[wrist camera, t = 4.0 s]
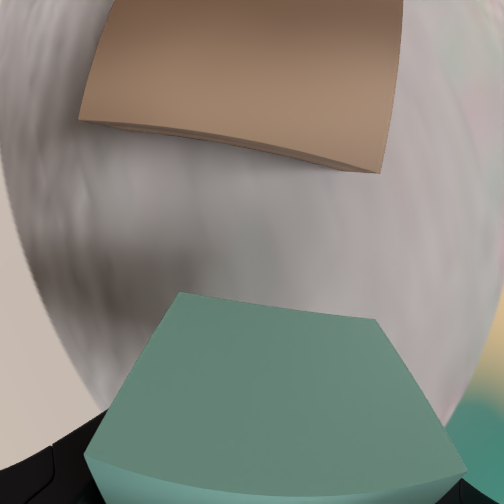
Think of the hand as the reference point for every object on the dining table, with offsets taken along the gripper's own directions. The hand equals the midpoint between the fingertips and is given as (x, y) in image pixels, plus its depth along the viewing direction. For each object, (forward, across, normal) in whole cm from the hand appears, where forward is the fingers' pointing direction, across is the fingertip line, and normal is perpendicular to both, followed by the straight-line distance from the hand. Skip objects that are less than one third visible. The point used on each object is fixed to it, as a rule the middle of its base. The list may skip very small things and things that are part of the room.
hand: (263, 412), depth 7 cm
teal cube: (+1, 0, 0) cm, 1 cm away
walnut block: (+6, +2, -11) cm, 13 cm away
